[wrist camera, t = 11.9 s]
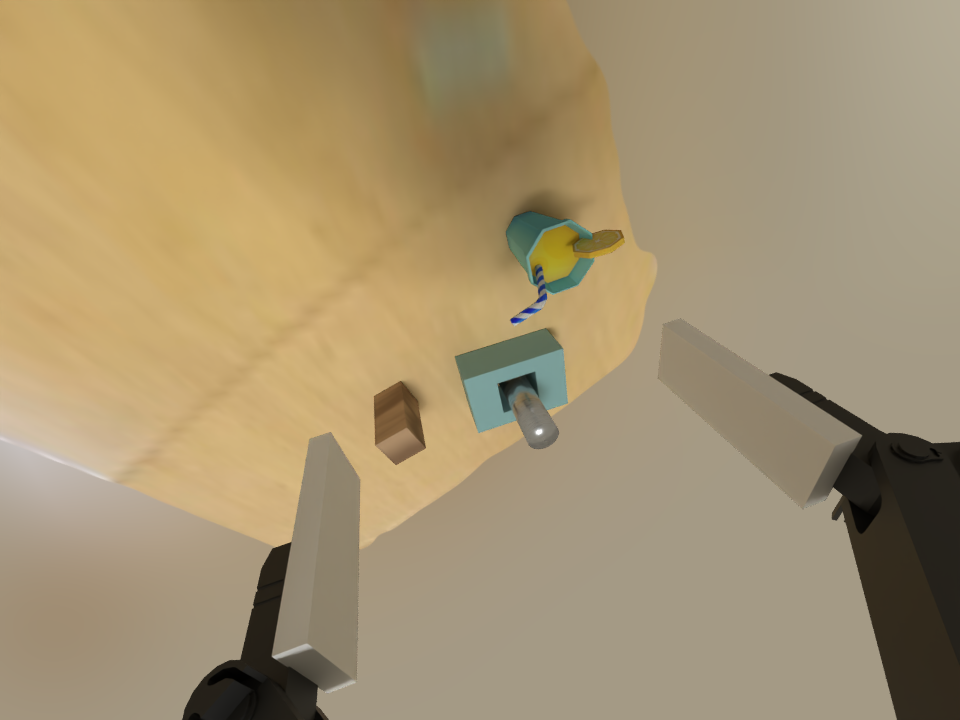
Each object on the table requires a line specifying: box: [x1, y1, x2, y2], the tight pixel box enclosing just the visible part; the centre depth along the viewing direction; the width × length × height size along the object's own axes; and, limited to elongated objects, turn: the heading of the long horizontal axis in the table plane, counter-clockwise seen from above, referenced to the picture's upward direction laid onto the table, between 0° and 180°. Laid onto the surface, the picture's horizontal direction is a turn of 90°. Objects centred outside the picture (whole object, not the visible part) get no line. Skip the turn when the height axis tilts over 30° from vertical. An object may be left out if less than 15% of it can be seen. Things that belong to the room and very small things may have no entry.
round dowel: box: [499, 375, 559, 449], centre depth 51 cm, size 4×4×15 cm
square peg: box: [374, 381, 426, 465], centre depth 51 cm, size 4×4×10 cm
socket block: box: [455, 328, 568, 433], centre depth 55 cm, size 10×14×6 cm
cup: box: [506, 211, 625, 326], centre depth 41 cm, size 14×8×15 cm, turn 128°
